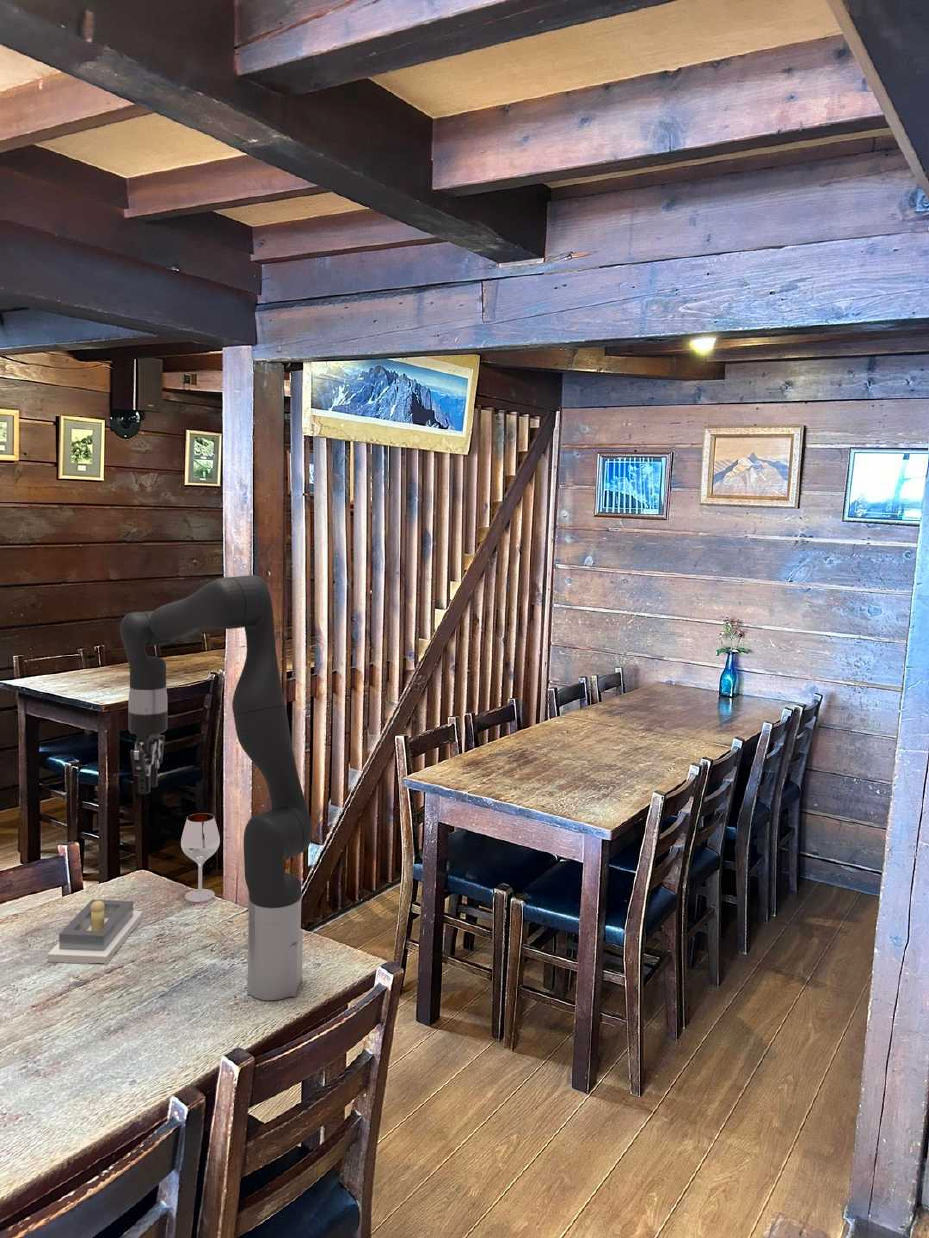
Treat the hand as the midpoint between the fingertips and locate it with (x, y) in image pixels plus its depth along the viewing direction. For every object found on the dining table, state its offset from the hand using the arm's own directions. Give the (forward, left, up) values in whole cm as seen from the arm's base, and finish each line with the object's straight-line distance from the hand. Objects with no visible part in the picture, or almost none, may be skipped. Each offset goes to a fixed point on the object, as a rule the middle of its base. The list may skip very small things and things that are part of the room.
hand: (148, 789), depth 184 cm
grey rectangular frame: (+6, +11, -26) cm, 29 cm away
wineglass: (-8, -10, -27) cm, 30 cm away
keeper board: (+6, +11, -27) cm, 30 cm away
